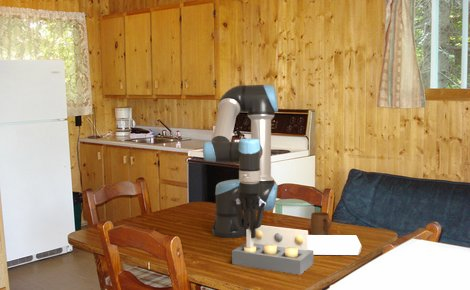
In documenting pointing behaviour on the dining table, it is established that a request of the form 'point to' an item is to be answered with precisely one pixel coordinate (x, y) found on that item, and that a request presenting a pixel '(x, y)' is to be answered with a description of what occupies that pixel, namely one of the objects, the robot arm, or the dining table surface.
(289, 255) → the button right
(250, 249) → the button left
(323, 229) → the mug
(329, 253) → the crystal
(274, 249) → the button middle
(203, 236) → the dining table surface
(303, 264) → the console
